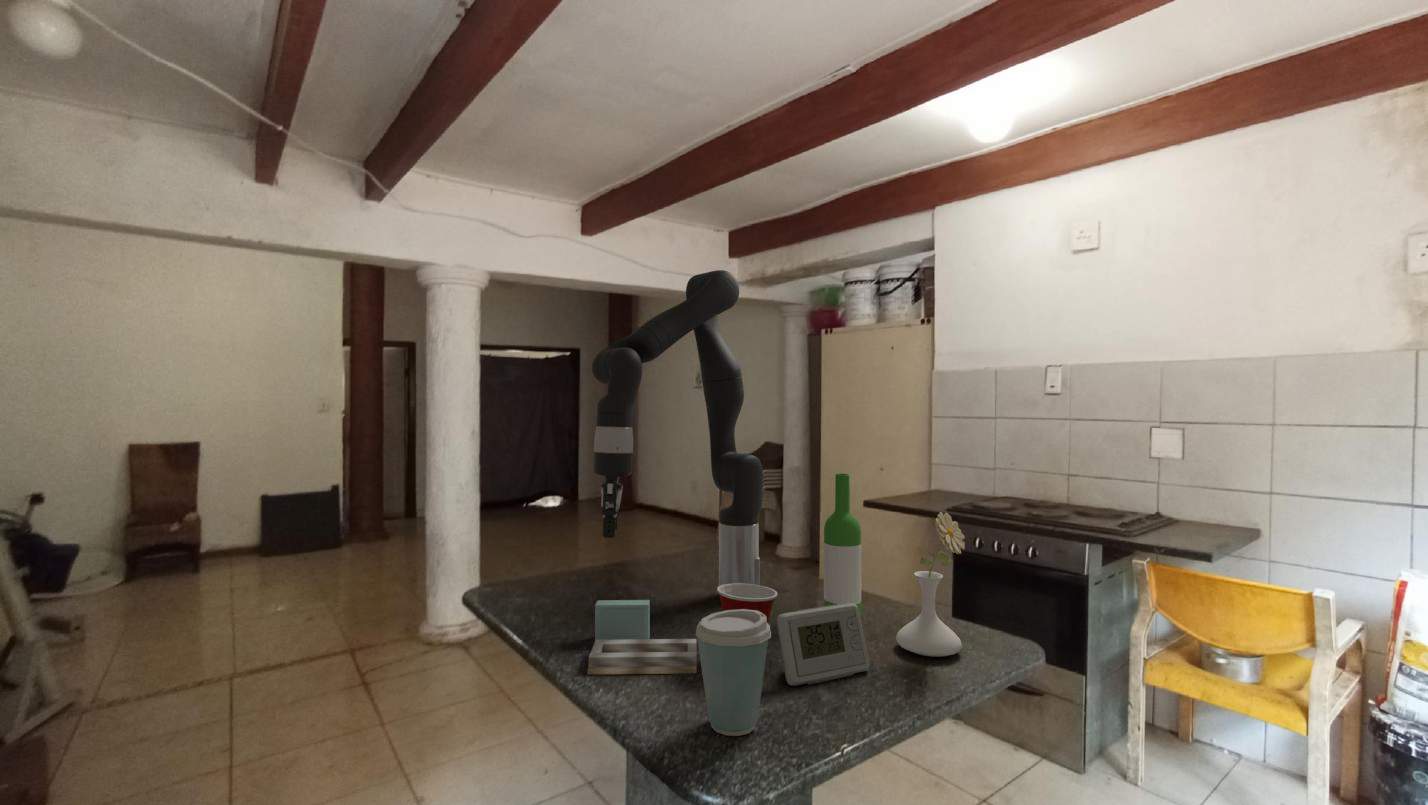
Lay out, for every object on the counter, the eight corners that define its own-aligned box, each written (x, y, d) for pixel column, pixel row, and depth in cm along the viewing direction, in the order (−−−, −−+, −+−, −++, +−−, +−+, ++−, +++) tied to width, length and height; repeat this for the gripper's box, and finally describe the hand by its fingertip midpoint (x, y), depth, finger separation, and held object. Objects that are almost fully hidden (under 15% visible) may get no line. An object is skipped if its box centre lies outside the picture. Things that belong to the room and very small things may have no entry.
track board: (696, 650, 115) (696, 636, 115) (696, 673, 105) (696, 658, 105) (596, 651, 115) (596, 637, 115) (587, 674, 105) (587, 659, 105)
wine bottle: (835, 607, 140) (835, 471, 140) (867, 615, 134) (867, 474, 135) (816, 616, 134) (816, 474, 134) (849, 624, 129) (849, 477, 129)
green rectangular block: (649, 636, 122) (649, 599, 122) (648, 642, 119) (648, 605, 119) (597, 636, 122) (597, 600, 122) (594, 643, 119) (594, 605, 119)
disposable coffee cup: (701, 748, 82) (701, 632, 82) (690, 709, 93) (690, 606, 93) (780, 741, 84) (780, 627, 84) (760, 703, 94) (760, 602, 95)
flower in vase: (924, 667, 108) (924, 520, 108) (883, 643, 118) (883, 510, 119) (983, 656, 113) (983, 515, 113) (938, 634, 123) (938, 506, 123)
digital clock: (785, 690, 99) (785, 622, 99) (767, 667, 108) (767, 604, 108) (880, 681, 103) (880, 615, 103) (855, 659, 111) (855, 598, 111)
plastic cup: (790, 660, 111) (790, 591, 111) (738, 673, 105) (738, 601, 105) (754, 640, 120) (754, 577, 120) (705, 652, 114) (705, 585, 114)
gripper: (631, 452, 117) (628, 540, 116) (633, 449, 131) (630, 528, 130) (590, 451, 116) (587, 540, 116) (597, 448, 130) (593, 527, 130)
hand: (610, 533), depth 123 cm, fingers open, 8 cm apart
